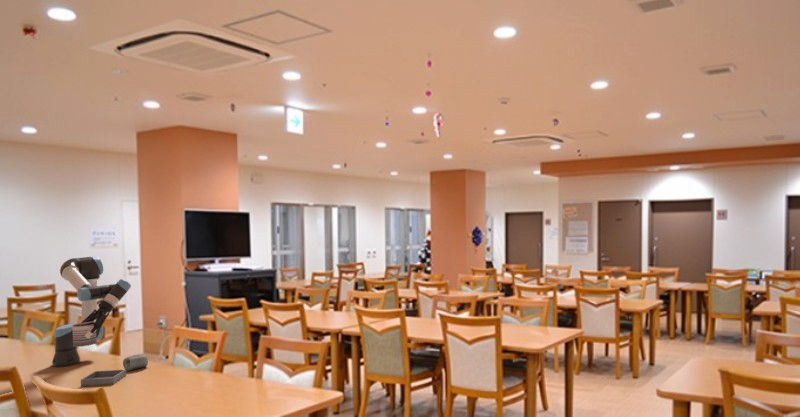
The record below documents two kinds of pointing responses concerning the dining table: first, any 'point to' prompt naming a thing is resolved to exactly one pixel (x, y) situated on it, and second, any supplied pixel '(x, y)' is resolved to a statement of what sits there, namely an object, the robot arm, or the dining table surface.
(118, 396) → the dining table surface
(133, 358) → the spool
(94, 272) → the robot arm
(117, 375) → the tray
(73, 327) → the can
